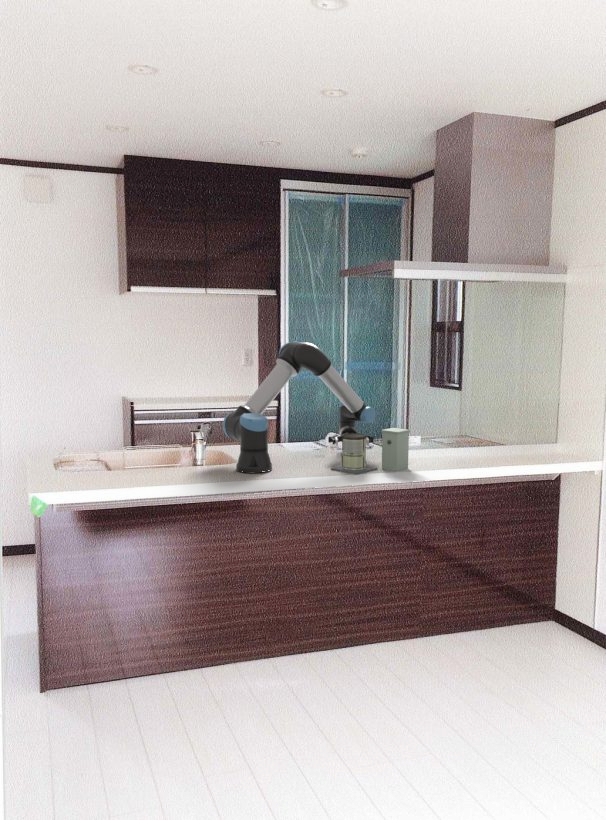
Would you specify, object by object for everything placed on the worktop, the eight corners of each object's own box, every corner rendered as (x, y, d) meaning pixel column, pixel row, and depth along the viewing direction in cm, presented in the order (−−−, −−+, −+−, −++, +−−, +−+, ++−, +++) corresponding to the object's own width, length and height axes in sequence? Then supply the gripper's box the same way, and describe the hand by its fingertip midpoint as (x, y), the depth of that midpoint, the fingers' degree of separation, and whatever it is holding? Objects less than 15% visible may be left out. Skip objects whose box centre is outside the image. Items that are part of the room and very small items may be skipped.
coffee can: (338, 466, 315) (338, 433, 313) (360, 464, 318) (360, 432, 316) (346, 471, 305) (347, 437, 304) (369, 469, 308) (370, 436, 307)
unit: (396, 471, 308) (397, 432, 306) (380, 468, 314) (380, 429, 312) (409, 468, 315) (410, 429, 313) (393, 465, 321) (394, 427, 318)
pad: (356, 474, 302) (356, 472, 302) (330, 469, 312) (330, 467, 312) (377, 469, 312) (377, 467, 312) (352, 464, 322) (352, 463, 322)
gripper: (375, 443, 342) (380, 451, 321) (321, 442, 342) (323, 451, 320) (375, 427, 341) (381, 434, 320) (322, 426, 341) (324, 434, 320)
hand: (352, 442), depth 320 cm, fingers open, 13 cm apart
